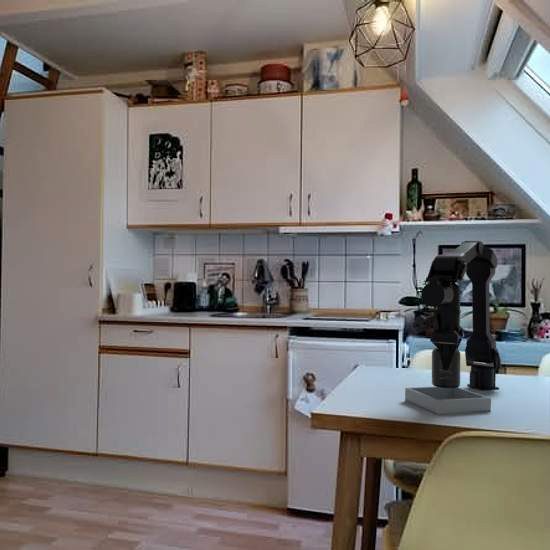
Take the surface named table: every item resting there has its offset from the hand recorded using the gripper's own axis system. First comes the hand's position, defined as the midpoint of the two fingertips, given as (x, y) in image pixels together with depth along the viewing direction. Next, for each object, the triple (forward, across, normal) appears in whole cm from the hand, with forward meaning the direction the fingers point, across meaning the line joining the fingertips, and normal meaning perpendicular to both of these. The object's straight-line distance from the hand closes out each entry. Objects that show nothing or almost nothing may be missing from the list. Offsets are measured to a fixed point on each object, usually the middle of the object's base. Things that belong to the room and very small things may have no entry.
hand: (447, 367), depth 130 cm
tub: (+10, 0, 0) cm, 10 cm away
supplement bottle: (+5, 0, 0) cm, 5 cm away
